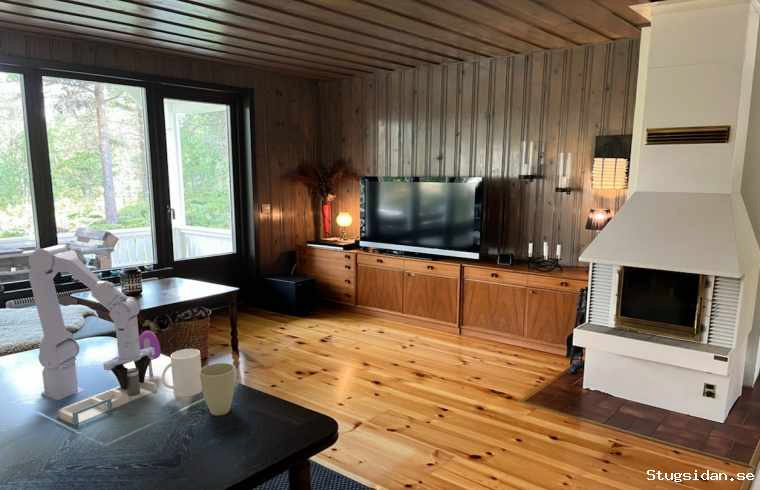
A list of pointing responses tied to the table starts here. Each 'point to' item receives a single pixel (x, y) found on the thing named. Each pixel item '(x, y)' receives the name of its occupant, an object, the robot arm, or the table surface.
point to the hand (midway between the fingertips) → (132, 385)
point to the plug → (133, 382)
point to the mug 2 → (218, 386)
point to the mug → (185, 372)
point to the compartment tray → (102, 403)
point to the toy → (147, 341)
